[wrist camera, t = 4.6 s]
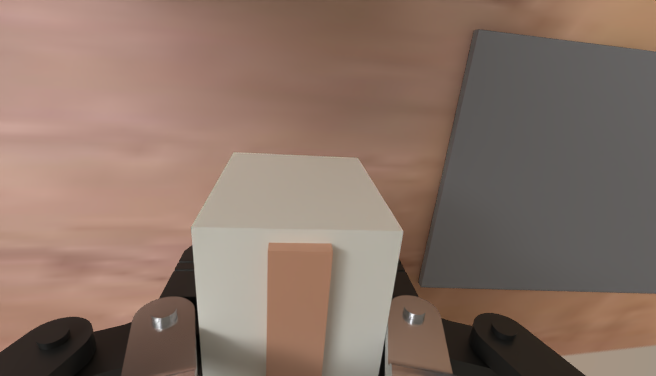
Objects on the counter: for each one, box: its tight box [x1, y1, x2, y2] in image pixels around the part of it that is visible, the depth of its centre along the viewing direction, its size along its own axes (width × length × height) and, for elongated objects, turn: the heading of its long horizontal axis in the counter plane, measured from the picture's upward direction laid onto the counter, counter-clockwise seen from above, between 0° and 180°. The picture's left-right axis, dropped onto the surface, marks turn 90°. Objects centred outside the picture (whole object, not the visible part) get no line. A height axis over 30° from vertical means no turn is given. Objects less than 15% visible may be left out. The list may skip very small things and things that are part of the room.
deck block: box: [191, 152, 403, 376], centre depth 10 cm, size 7×4×5 cm, turn 176°
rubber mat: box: [418, 29, 656, 294], centre depth 21 cm, size 15×20×1 cm
